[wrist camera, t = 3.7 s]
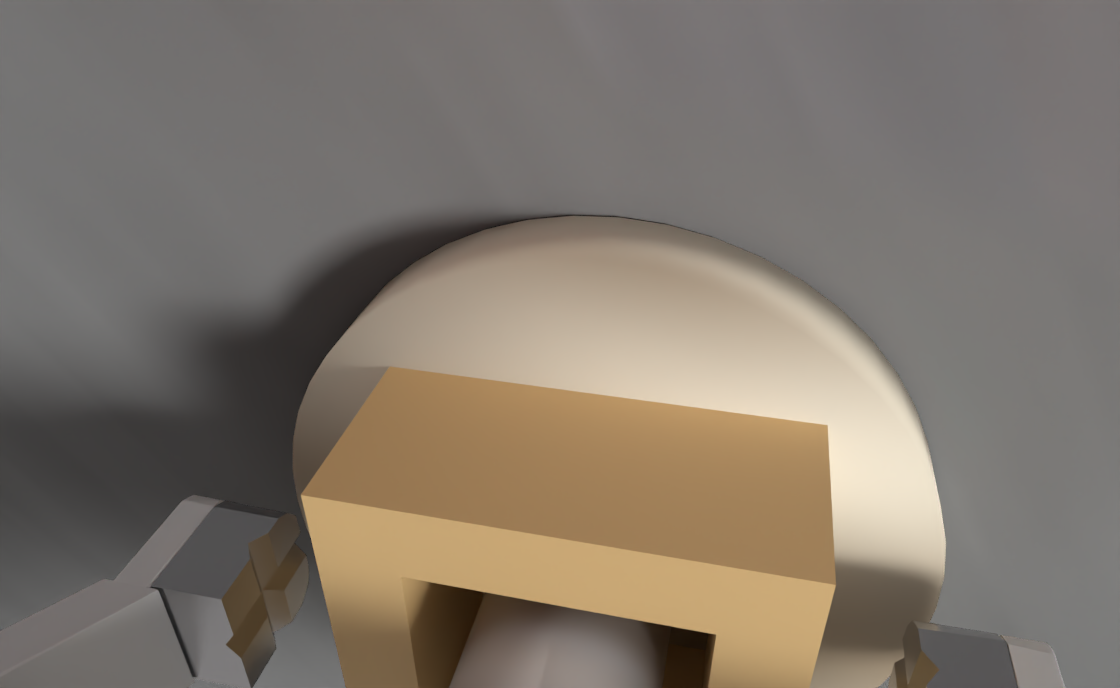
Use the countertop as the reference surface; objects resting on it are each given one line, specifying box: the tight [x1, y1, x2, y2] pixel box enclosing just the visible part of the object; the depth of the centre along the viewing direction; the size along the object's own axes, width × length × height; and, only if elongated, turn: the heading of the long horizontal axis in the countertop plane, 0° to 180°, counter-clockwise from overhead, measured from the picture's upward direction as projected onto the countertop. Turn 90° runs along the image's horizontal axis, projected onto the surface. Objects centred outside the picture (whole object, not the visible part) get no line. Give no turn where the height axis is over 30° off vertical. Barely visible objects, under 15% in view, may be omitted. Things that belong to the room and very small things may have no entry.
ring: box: [301, 366, 836, 688], centre depth 11 cm, size 7×5×2 cm
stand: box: [293, 216, 946, 688], centre depth 10 cm, size 9×9×6 cm
